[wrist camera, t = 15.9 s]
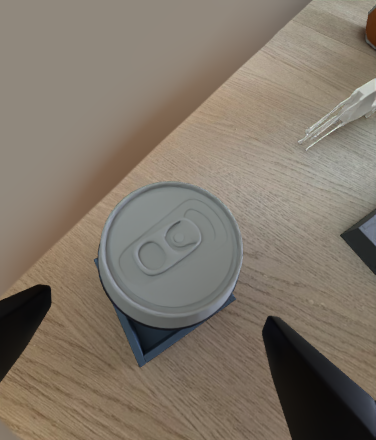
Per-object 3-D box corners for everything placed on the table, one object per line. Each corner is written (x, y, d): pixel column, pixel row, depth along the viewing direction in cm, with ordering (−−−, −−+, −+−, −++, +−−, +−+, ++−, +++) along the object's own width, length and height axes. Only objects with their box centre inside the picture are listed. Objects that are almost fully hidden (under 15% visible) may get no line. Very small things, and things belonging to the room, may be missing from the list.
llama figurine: (290, 173, 34) (378, 111, 34) (320, 131, 23) (450, 38, 23) (283, 165, 35) (369, 104, 34) (308, 121, 24) (436, 30, 23)
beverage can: (208, 292, 18) (286, 260, 7) (154, 336, 16) (146, 386, 5) (172, 242, 19) (191, 152, 9) (119, 276, 17) (55, 216, 7)
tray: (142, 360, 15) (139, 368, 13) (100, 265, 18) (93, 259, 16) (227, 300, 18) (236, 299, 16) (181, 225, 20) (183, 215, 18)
